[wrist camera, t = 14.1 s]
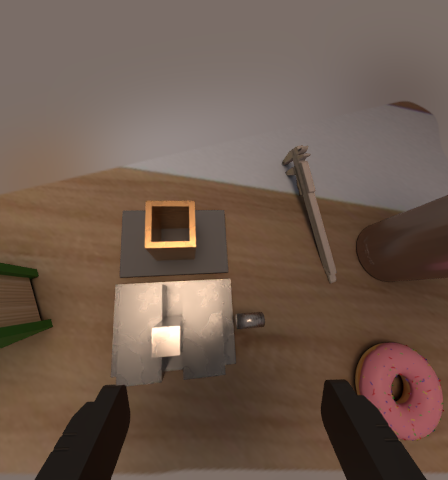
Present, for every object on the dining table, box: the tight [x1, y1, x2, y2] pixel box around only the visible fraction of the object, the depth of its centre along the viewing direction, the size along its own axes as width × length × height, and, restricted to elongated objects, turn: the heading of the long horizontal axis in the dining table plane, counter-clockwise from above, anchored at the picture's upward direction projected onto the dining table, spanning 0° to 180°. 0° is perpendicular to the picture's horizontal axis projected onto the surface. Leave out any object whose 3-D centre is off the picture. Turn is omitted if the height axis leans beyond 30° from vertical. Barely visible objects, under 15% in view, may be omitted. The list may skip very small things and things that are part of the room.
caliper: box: [282, 145, 337, 283], centre depth 32 cm, size 20×1×6 cm, turn 18°
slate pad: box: [120, 210, 228, 278], centre depth 31 cm, size 14×9×1 cm, turn 93°
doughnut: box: [355, 343, 444, 441], centre depth 29 cm, size 11×11×4 cm
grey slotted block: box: [111, 279, 265, 386], centre depth 23 cm, size 17×10×13 cm, turn 93°
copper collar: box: [145, 201, 196, 261], centre depth 27 cm, size 5×5×8 cm
